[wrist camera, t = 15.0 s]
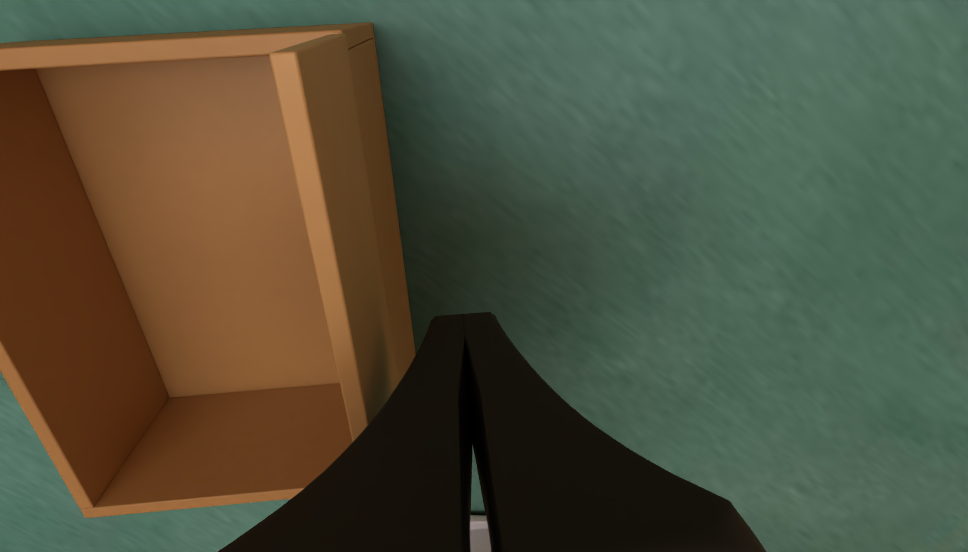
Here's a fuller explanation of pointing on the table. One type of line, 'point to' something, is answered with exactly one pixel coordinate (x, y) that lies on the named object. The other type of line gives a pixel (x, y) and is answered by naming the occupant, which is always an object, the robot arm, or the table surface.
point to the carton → (174, 266)
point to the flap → (338, 217)
